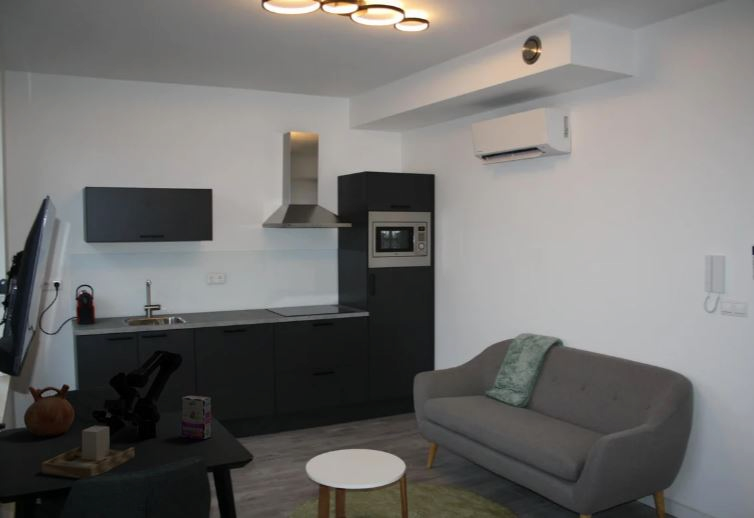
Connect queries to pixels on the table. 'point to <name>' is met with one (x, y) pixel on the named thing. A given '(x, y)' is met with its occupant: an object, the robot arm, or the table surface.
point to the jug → (49, 413)
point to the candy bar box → (196, 417)
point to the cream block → (95, 442)
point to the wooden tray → (85, 463)
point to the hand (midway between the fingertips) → (106, 438)
